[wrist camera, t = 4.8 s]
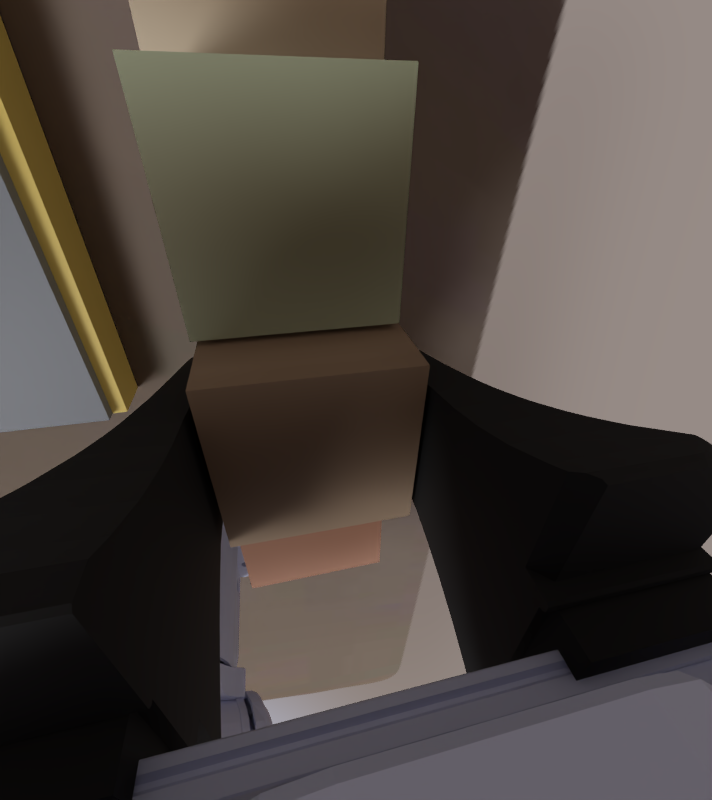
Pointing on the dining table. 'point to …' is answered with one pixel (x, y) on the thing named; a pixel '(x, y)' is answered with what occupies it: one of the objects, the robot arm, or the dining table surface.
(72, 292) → the dock
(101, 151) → the dining table surface
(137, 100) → the block
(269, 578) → the block
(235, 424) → the board
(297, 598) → the dining table surface
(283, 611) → the dining table surface
